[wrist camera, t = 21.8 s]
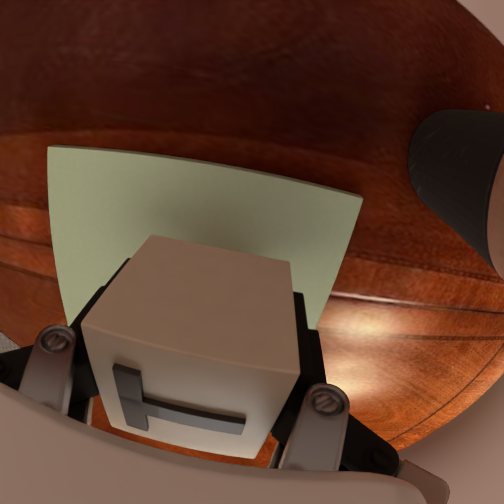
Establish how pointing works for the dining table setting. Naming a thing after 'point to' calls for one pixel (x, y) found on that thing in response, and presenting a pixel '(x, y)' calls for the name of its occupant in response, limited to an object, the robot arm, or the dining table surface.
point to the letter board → (189, 217)
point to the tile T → (195, 346)
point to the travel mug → (463, 176)
